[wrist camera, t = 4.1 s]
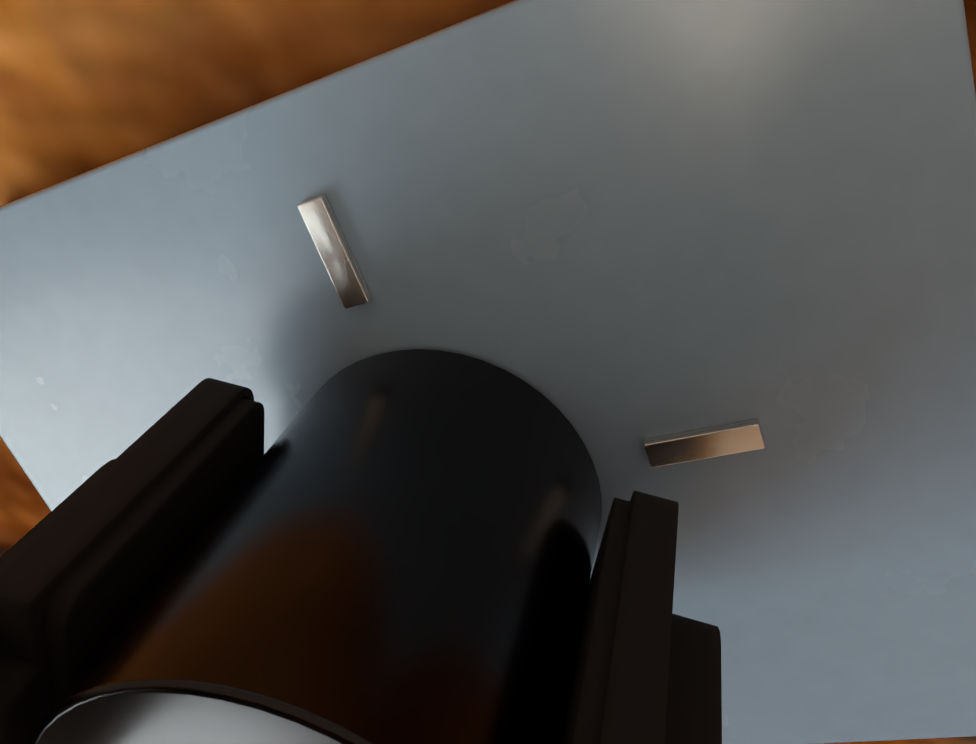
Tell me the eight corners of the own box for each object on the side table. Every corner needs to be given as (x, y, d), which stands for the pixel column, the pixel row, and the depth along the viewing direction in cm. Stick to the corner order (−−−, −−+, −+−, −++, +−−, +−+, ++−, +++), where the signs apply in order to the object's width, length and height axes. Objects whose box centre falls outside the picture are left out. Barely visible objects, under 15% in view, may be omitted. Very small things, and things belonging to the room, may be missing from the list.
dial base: (889, -151, 9) (949, -173, 7) (1005, 603, 13) (1064, 745, 11) (1, 206, 14) (-135, 260, 12) (283, 673, 18) (223, 780, 16)
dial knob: (299, 313, 11) (-51, 648, 6) (635, 391, 10) (561, 838, 5) (293, 564, 13) (35, 963, 8) (569, 641, 12) (474, 1121, 7)
